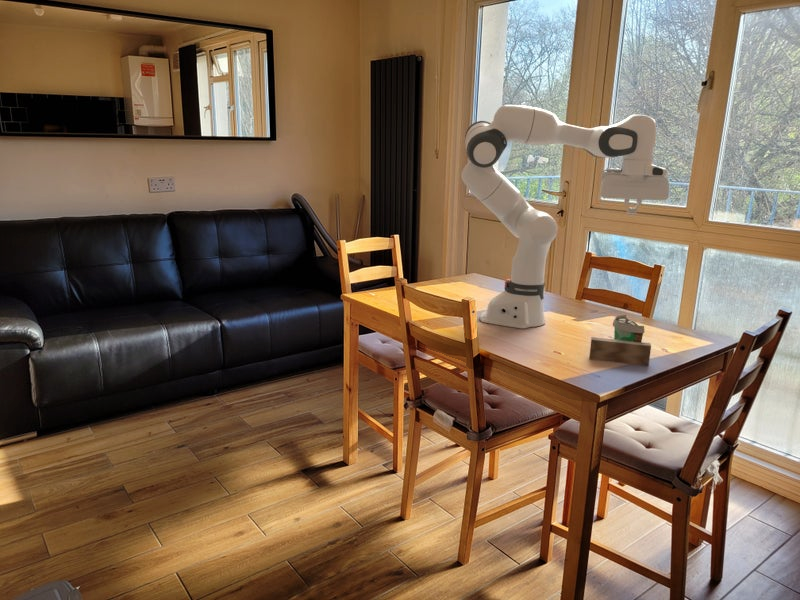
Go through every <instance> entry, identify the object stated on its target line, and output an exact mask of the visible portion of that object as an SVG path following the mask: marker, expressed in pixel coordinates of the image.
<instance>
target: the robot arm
mask: <svg viewBox="0 0 800 600" xmlns="http://www.w3.org/2000/svg"><path fill="white" fill-rule="evenodd" d="M656 133H657V125H656V120H655V119H654V118H653V117H651V116H649V115H644V114H636V113H635V114H631V115H629V116H628V117H627V118H625V119H624V120H621V121H620V122H618V123H615V124H612V125H600V126H595V127H591V128H590V127H589V128H588V127H583V126H582V127H581V126H577V125H573V124H568V123H566V122H563V121H562V120H560V119H559V118H558V117H557V115H556V114H555V113H553V112H551V111H549V110H546V109H543V108H540V107H534V106H531V105H524V104H523V105H521V104H504V105H502V106H500V107H498V109H497V110H496V112H495V114H494V116H493V118H492V121H491V122H490V121H487V120H486V121H485V120H479V121H476V122H473V123H472V124H471V125H470V126H469V127H468V128H467V130H466V132H465V136H464V148H465V151H466V156H467V158H468V160H469V161H468V162H467V163H466V164H465V165H464V167H463V168H462V171H461V180H462V182H463V184H464V186H466V188H467V189H468V190H469V191H470V192H471V194H473V196H474V197H475V198H476V199H477V200H478V201H480V202H481V204H483V205H484V206H485V207H486V208H487V210H489V211H490V212H491V213H492V214H494V216H495V217H496V218H497V219H498V220H499V221H500V223H501V224H502V225H503V226H505V228H506V229H507V230H508V231H509V232H510V233H511V234H512V235H513V236H514V237H515V238H518V239H519V241H518V245H517V247H516V248H517V249H516V252H515V255H513V257H512V260H511V273H510V274H511V275H510V278H506V280H505V281H504V290H503V291H502V292H500V293H499V294H497V295H495V296H494V297H493V298H491V299H490V300H489V302H488V304H487V307H486V310H485V311H484V310H483V312H482V313H480V315H479V316H480V317H479V320H480V321H481V322H482V323H485V324H491V325H497V326H504V327H510V328H516V329H527V328H534V327H539V326H543V325H545V324H546V319H545V312H544V298H545V295H546V294H545V292H546V291H545V290H546V284H545V272H546V271H545V270H546V263H547V261H546V260H547V257H548V255H549V251H550V247H551V245H552V242H553V241H554V240H555V239H556V238H557V235H558V232H559V227H558V223H557V221H556V220H555V218H553V216H552V215H550V214H549V213H548V212H545V211H541V210H539V209H536V208H534V207H533V206H532V205H531V204H530V203H529V202H528V201H527V200H526V199H525V197H524V196H523V194H522V193H521V191H520V190H519V189H518V188H517V186H515V185H514V184H513V183H512V182H511V181H510V180H509V179H508V177H506V176H505V175H504V174H503V173H501V171H499V170H498V169H497V167H496V166H495V164H496V163H497V162H498V161H499V160H500V158H501V156H502V154H503V152H504V151H505V150H506V148H507V146H508V143H510V142H514V143H519V144H523V145H524V144H525V145H531V146H550V145H554V144H561V145H566V146H570V147H573V148H574V147H575V148H579V149H582V150H584V151H586V152H587V153H588V154H589V155H590V156H592V157H595V158H597V159H604V158H607V159H609V158H610V159H613V158H619V157H621V156H622V164H621V168H608V167H607V168H606V169H604V170H603V171H602V172H601V174H600V181H601V187H600V191H599V192H600V195H599V196H600V197H601V198H602V199H619V200H624V201H623V202H624V204H625V207H626V214H628V215H630V214H632V215H637V212H638V209H639V208H640V206H641V205H642V202H643V201H644V200H645V201H663V202H664V201H667V200H668V199H669V197H670V183H669V179H668V178H667V177H666V176H668V169H667V168H664V167H661V166H659V165H656V164H653V161H654V156H653V155H654V154H653V151H654V148H655V146H656V137H657V134H656ZM630 200H636V203H637V204H636V205H635V206H634V207H630V206H629V203H630Z"/></svg>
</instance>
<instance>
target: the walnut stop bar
mask: <svg viewBox="0 0 800 600" xmlns="http://www.w3.org/2000/svg"><path fill="white" fill-rule="evenodd" d="M589 350H590V351H589V360H592V361H602V362H611V363H618V364H629V365H636V366H645V367H649V366H650V358H651V350H652V344H651V343H650V342H643V341H642V342H634V341H624V340H615V339H614V338H613V339H612V338H604V337H594V336H591V338H590V347H589Z"/></svg>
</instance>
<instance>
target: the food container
mask: <svg viewBox="0 0 800 600" xmlns="http://www.w3.org/2000/svg"><path fill="white" fill-rule="evenodd" d="M612 327H613V328H614V334H613V339H615V340H624V341H634V342H643V335H644V334H645V325H639V324H637V323H636V322H635V321H633V320H630V319H628V318H627V314H621V315H617V316H615V318H614V319H613V322H612Z"/></svg>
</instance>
